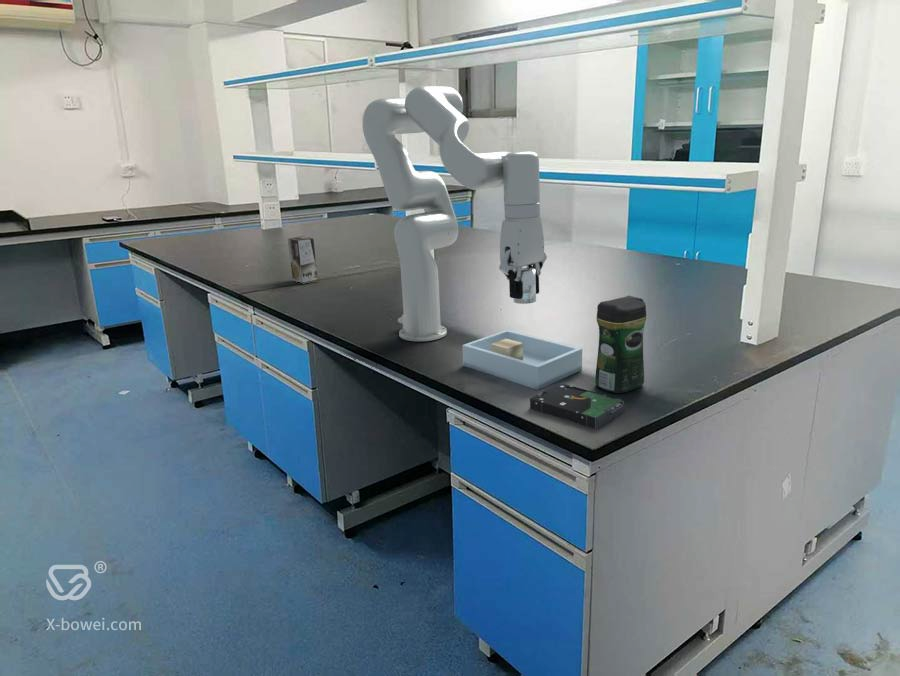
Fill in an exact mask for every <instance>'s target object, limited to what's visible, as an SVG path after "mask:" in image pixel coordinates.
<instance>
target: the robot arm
mask: <svg viewBox="0 0 900 676" xmlns="http://www.w3.org/2000/svg"><path fill="white" fill-rule="evenodd" d="M463 111H464V103H463V98H462V96H461V94H460V93H459V92H458V91H457V90H456V89H455V88H453V87H451V86H446V85H445V86H444V85H423V86H422V85H421V86H420V85H419V86H417V87H415V88H413V89H411V90H410V91H409V92H408V93H407V95H406V97H383V98H378V99H374V100H373V101H371V102H370V103H369V104H368V105H367V106H366V107H365V109H364V113H363V116H362V132H363V136H364V139H365V142H366V144H367V146H368V148H369V150H370V152H371V154H372V156H373V158H374V159H373V160H375V163H376V166H377V169H378V172H379V176H380V178H381V181H382V184H383V186H384V190H385V193H386V196H387V198H388V202H389V203H390V206H391V207H392V208H393V209H394V210H396V211H398V212H410V211H416V210H422V209H423V212H419V213H414V214H412V213H411V214H408V215H406V216H404V217H401V218H400V219H399V220H398V221H397V222H396V225H395V227H394V230H393V235H394V237H393V238H394V241H395V245H396V248H397V253H398V259H399V266H400V267H399V268H400V279H401V280H400V281H401V293H402V306H403V313H402V315H401V317H398V319H397V322H398V323H400V324H402V328H401V329H400V330H399V332H398V333H399V334H398V335H399V338H400V339H402V340H405V341H409V342H417V343H418V342H419V343H420V342H431V341H435V340H439V339H442V338H444V337H446V336H447V334H448V332H447V328H446V327H445V326H444V325H442V324H441V323H442V322H441V310H440V309H441V308H440V305H441V303H440V286H439V283H440V282H439V271H438V264H437V262H436V260H435V258H434V257H433V255H432V253H431V251H432V250H436V249H441V248H442V249H443V248H445V247H450V246H451V245H453V244H454V243H455V242H456V241H457V240H458V239H457V238H458V237H459V224H458V220H457V217H456V214H455V211H454V206H453V204H452V200H451V197H450V194H449V190H448V189H447V185H446V183H445V182H444V180H443V178H442V177H441V176H440V175H439V174H438V173H437V172H436V171H431V170H416V169H415V168H414V165H413V163H412V159H411V156H410V154H409V152H408V150H407V149H406V147H405V146H404V144H403V143H402V142H401V141H399V140H398V139H397V137H396V136H395V135H404V134H405V135H406V134H408V135H409V134H421V133H425V134H426V135H427V136H429V137H430V138H431V139H432V140H433V141H434V143H436V144H437V145H438V146H439V148H438V150H439V151H438V152H439V156H440V160H441V162H442V165H443V167H444V169H445V170H446V171H447V173H449V174H450V176H451V177H452V178H454V179H455V180H456V181H457V182H458V183H459V184H460V185H462V186H463V187H465V188H466V189H468V190H472V191H478V190H487V189H495V188H496V189H497V188H501V187H503V203H504V204H503V206H504V207H503V208H504V219H503V220H502V223H501V227H500V228H501V229H500V237H499V239H500V240H499V262H500V264H499V266H498V269H499V270H500V271H501V272H502V273H503V275H504V276H505V277H506V280H507V281H509V283H508V285H509V287H508V288H509V298H510V299H513V298H515V299H522V297H523V294H522V281H520V276H521V269H522V268H524V267H526V268H535V269H536V295H538V294H540V275H541V273H542V272H541V271H542V268H543V266H544V264H545V262H546V260H547V258H548V256H547V255H546V253H545V240H544V239H545V238H544V229H543V223H542V218H541V201H540V200H541V199H540V198H541V197H540V196H541V195H540V191H541V189H540V159H539V155H538V153H536V152H534V151H529V150H528V151H515V152H511V151H504V150H503V151H489V152H488V151H487V152H477V153H475V152H473V151H472V150H471V149H469V147H467V145H465V144H464V142H465V140H466V138H467V136H468V134H469V131H470V123H469V120H468V118H467V117H466V116H465V115H464V114H463ZM514 269H516V273H514V271H513V270H514Z"/></svg>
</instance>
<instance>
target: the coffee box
mask: <svg viewBox="0 0 900 676" xmlns="http://www.w3.org/2000/svg"><path fill="white" fill-rule="evenodd" d="M287 243H288V245H287V246H288V253H289V259H290V261H289V262H290V268H291V276H292V280H293V279H295V280H298V281H300V282H307V281H312V280H316V279H318V277H319V276H318V268H317V261H316V260H317V259H316V250H315V241H314V238H313V237H308V236H303V235H302V236H296V237H291V238H287ZM318 280H319V279H318Z"/></svg>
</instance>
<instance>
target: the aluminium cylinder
mask: <svg viewBox="0 0 900 676" xmlns="http://www.w3.org/2000/svg"><path fill="white" fill-rule="evenodd" d="M513 271H514V273H516V269H514V270H513ZM520 281H522V294H523V297H522V299H515V298H512V299H513V300H512V301H513V303H515V304H518V305H520V304H522V305H527V304H534V303H536V302H537V294H536V269H535V268H527V267H522V269H521V276H520Z"/></svg>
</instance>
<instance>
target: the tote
mask: <svg viewBox="0 0 900 676" xmlns="http://www.w3.org/2000/svg"><path fill="white" fill-rule="evenodd" d="M504 339H509V340H513V341H517V342H521V343H523V360H519V359H516V358H512V357H509V356H505V355H502V354H499V353H495V352H492V351H491V344H492V343H495V342H498V341H501V340H504ZM461 347H462V365H463V367H466V368H468V369H472V370H475V371H478V372H481V373H484V374H487V375H491V376H493V377H497V378H499V379H502V380H506V381H510V382H512V383H515V384H518V385H521V386H524V387H527V388H531V389H533V390H537V391H539V390H541V389H544V388H546V387H548V386H550V385H552V384H555V383H556V382H559V381H561V380H563V379H565V378H567V377H570V376H572V375H574V374H576V373H579V372H582V371H583V348H582V347H577V346H574V345H570V344H566V343H562V342H559V341H558V342H557V341H553V340H549V339H545V338H542V337H538V336H534V335H529V334H527V333H523V332H517V331H514V330H510V329H505V330H503V331H500V332H497V333H494V334H491V335H487V336H485V337H482V338H479V339H477V340H473V341H470V342H468V343H465V344H462V346H461Z"/></svg>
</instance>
